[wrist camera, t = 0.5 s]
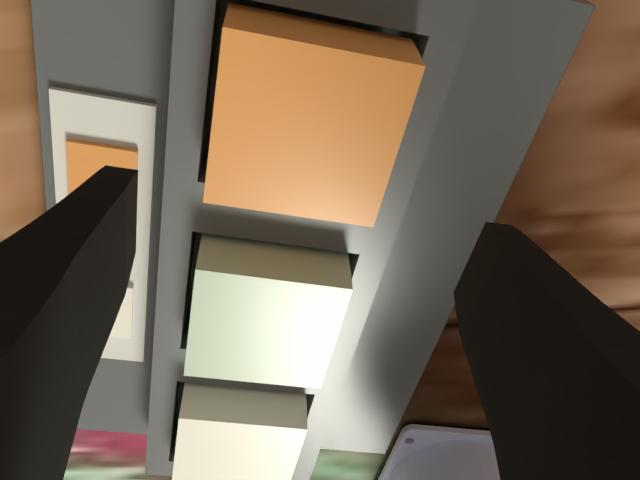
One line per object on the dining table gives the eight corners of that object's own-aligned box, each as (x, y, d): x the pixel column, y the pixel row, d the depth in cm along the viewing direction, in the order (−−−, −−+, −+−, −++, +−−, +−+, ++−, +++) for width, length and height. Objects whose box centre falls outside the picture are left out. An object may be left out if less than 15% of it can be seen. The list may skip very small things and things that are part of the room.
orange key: (365, 191, 19) (373, 227, 18) (209, 166, 18) (203, 202, 17) (412, 38, 16) (425, 66, 15) (228, 1, 16) (222, 27, 14)
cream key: (285, 456, 28) (285, 497, 26) (177, 448, 27) (170, 489, 26) (306, 388, 25) (307, 429, 24) (185, 377, 24) (178, 418, 23)
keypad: (381, 429, 32) (390, 491, 29) (71, 401, 30) (49, 467, 27) (575, -8, 19) (627, 29, 16) (40, -129, 16) (-12, -110, 13)
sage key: (318, 348, 24) (320, 389, 22) (190, 334, 23) (183, 375, 21) (347, 250, 21) (353, 289, 19) (202, 231, 20) (195, 269, 18)
